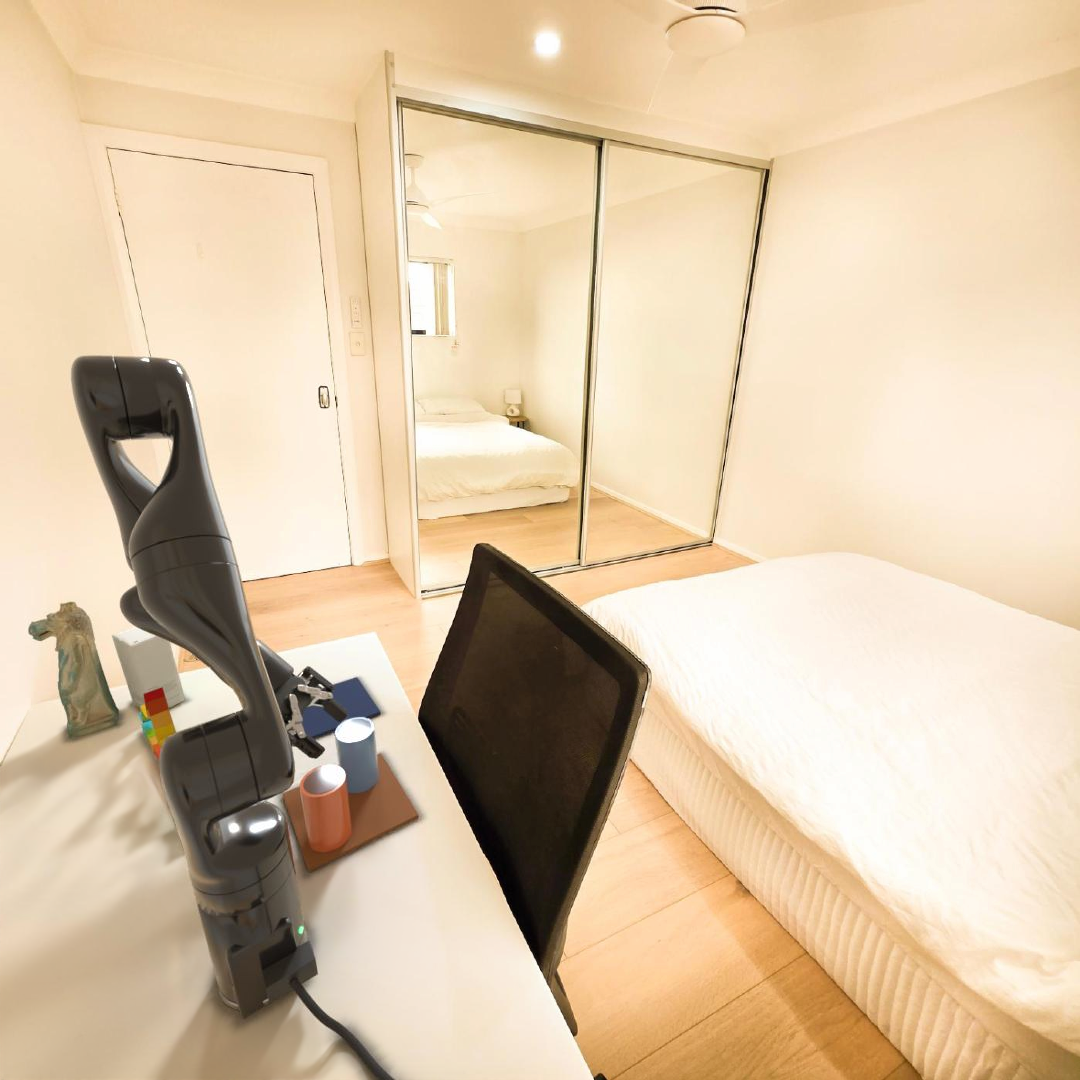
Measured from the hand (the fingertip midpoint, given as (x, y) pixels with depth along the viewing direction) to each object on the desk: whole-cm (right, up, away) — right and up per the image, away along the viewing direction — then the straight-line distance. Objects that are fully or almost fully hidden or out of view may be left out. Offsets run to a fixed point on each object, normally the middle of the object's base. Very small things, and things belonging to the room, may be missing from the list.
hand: (333, 735), depth 84 cm
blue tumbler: (+3, -8, +3) cm, 9 cm away
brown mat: (+3, -10, -2) cm, 11 cm away
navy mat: (-8, -2, +21) cm, 22 cm away
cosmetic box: (-43, -1, +21) cm, 48 cm away
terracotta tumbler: (+2, -12, -7) cm, 14 cm away
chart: (-27, -8, +4) cm, 29 cm away
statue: (-50, -3, +14) cm, 52 cm away
